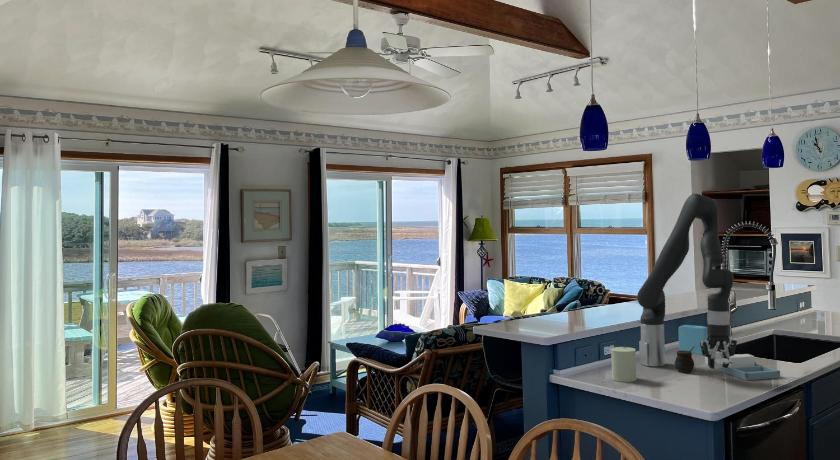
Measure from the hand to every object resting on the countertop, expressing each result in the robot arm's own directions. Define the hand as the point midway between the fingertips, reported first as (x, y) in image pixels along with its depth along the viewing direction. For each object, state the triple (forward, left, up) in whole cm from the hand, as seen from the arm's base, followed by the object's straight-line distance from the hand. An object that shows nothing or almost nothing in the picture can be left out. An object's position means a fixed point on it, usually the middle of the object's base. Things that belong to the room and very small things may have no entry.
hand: (718, 367), depth 237 cm
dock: (+16, +6, -5) cm, 18 cm away
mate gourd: (-4, +16, -5) cm, 17 cm away
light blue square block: (+20, +47, -5) cm, 51 cm away
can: (-32, +12, -5) cm, 34 cm away
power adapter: (0, 0, -1) cm, 1 cm away
